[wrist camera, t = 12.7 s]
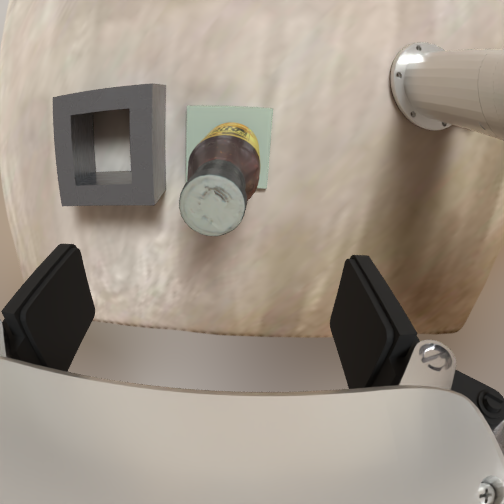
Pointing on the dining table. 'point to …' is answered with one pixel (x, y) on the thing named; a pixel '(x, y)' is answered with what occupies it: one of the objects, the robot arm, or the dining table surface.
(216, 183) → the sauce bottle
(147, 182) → the collar
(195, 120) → the mat
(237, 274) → the dining table surface
